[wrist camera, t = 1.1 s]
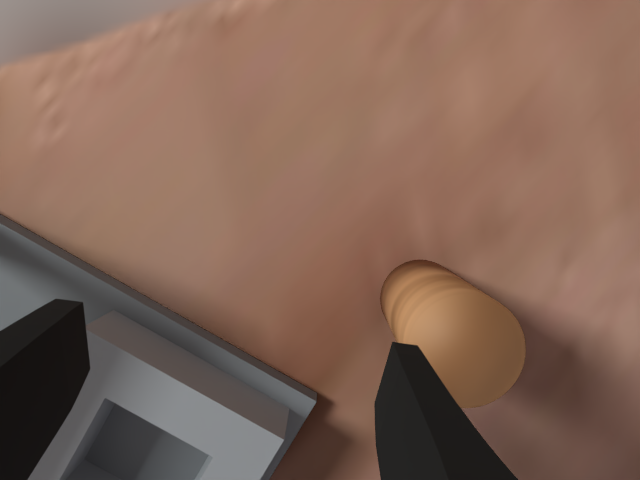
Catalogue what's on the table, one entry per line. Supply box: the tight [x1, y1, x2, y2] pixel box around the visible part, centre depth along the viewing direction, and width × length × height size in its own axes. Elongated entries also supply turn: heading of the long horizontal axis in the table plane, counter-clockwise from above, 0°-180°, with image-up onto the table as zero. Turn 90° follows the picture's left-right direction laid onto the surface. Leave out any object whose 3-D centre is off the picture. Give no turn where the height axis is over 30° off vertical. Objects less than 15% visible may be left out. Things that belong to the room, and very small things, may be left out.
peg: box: [380, 260, 526, 408], centre depth 20 cm, size 4×4×8 cm
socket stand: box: [0, 214, 317, 480], centre depth 20 cm, size 21×12×10 cm, turn 60°
